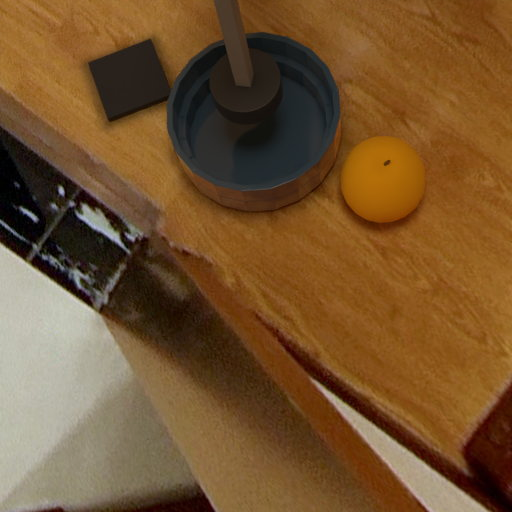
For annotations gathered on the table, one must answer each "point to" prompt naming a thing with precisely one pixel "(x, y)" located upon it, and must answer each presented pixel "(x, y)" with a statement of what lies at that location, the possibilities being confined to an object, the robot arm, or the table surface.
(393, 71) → the table surface
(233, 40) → the square post on disc
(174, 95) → the bowl
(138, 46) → the pad
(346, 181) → the orange
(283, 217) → the table surface
